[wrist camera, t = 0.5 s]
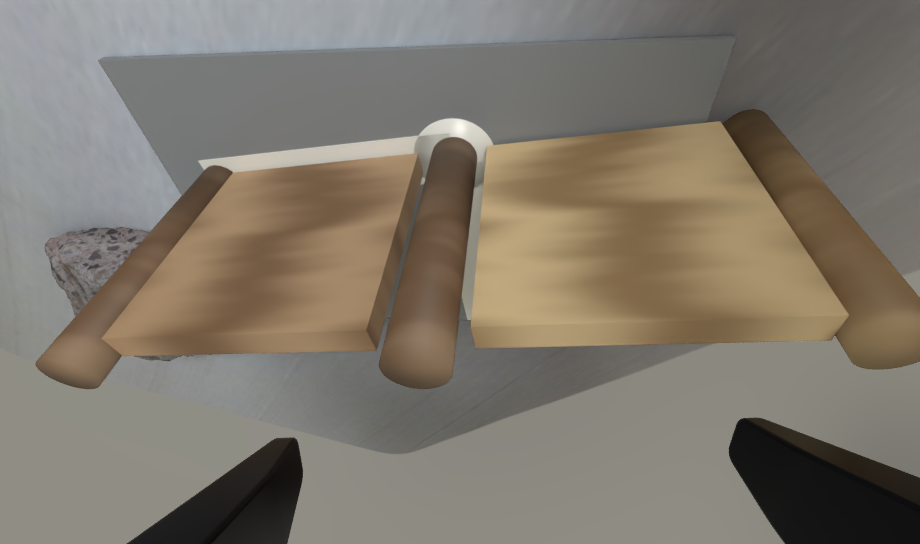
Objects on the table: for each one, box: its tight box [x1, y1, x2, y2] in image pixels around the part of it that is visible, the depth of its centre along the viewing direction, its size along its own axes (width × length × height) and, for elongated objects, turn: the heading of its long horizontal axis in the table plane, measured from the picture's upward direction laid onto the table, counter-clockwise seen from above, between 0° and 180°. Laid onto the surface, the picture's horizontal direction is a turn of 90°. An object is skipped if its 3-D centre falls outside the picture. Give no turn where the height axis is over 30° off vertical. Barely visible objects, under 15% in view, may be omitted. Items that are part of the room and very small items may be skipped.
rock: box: [45, 227, 211, 361], centre depth 26 cm, size 9×11×4 cm
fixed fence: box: [36, 137, 477, 389], centre depth 17 cm, size 13×2×11 cm, turn 99°
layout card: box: [98, 35, 737, 321], centre depth 22 cm, size 16×24×1 cm, turn 93°
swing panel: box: [471, 109, 920, 369], centre depth 14 cm, size 11×2×10 cm, turn 99°
